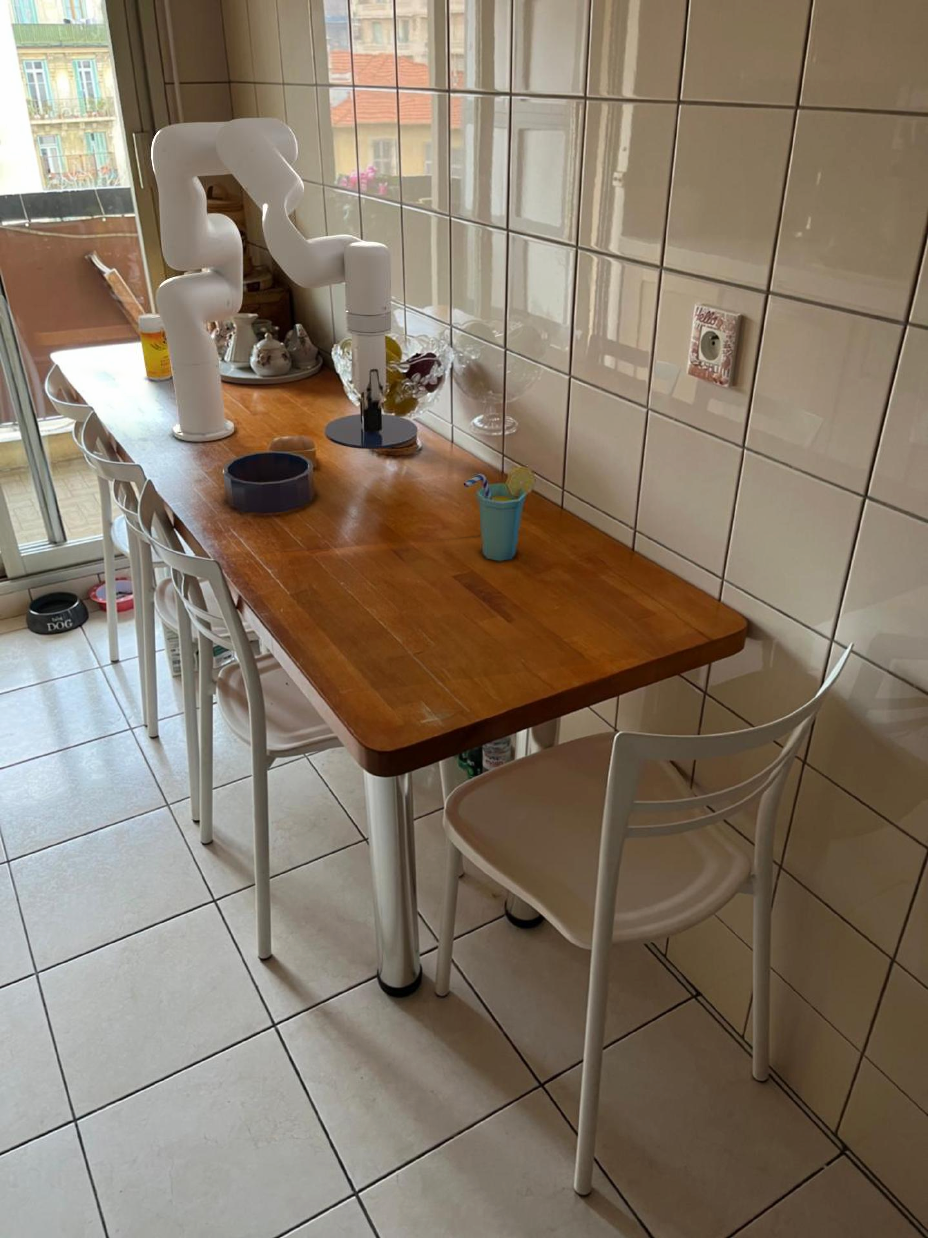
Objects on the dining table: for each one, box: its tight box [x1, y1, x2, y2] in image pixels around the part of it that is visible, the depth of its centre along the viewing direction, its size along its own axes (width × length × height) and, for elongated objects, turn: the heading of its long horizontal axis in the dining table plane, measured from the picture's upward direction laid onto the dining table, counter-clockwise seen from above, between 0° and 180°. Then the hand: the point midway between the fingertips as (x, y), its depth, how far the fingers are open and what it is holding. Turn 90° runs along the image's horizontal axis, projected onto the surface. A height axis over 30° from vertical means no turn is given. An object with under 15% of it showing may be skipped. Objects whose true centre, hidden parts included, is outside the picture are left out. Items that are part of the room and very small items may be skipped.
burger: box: [372, 435, 419, 456], centre depth 187 cm, size 10×9×5 cm
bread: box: [268, 435, 318, 469], centre depth 178 cm, size 9×6×6 cm, turn 103°
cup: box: [463, 465, 536, 562], centre depth 145 cm, size 14×8×15 cm, turn 133°
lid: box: [324, 395, 419, 450], centre depth 163 cm, size 17×17×7 cm
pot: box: [222, 451, 316, 514], centre depth 165 cm, size 16×16×6 cm
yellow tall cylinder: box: [137, 312, 173, 381], centre depth 225 cm, size 6×6×15 cm
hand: (371, 425), depth 164 cm, fingers closed on lid, 3 cm apart
